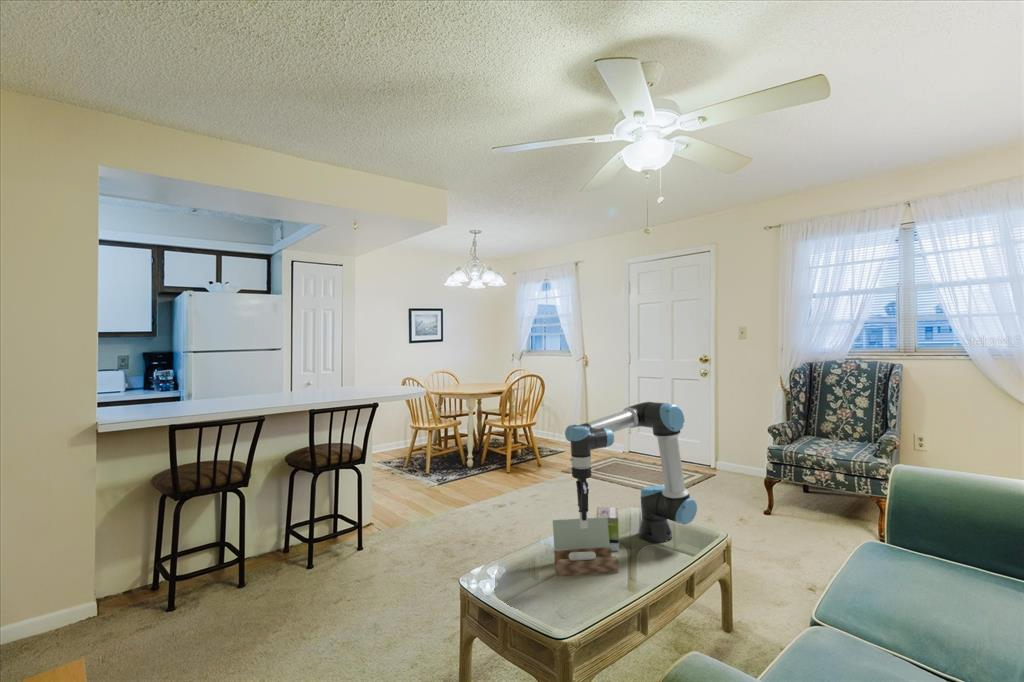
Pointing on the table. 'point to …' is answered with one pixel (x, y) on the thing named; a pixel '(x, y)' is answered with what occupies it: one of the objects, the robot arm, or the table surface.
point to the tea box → (611, 525)
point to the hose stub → (582, 556)
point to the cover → (580, 534)
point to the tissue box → (586, 562)
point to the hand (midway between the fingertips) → (583, 527)
